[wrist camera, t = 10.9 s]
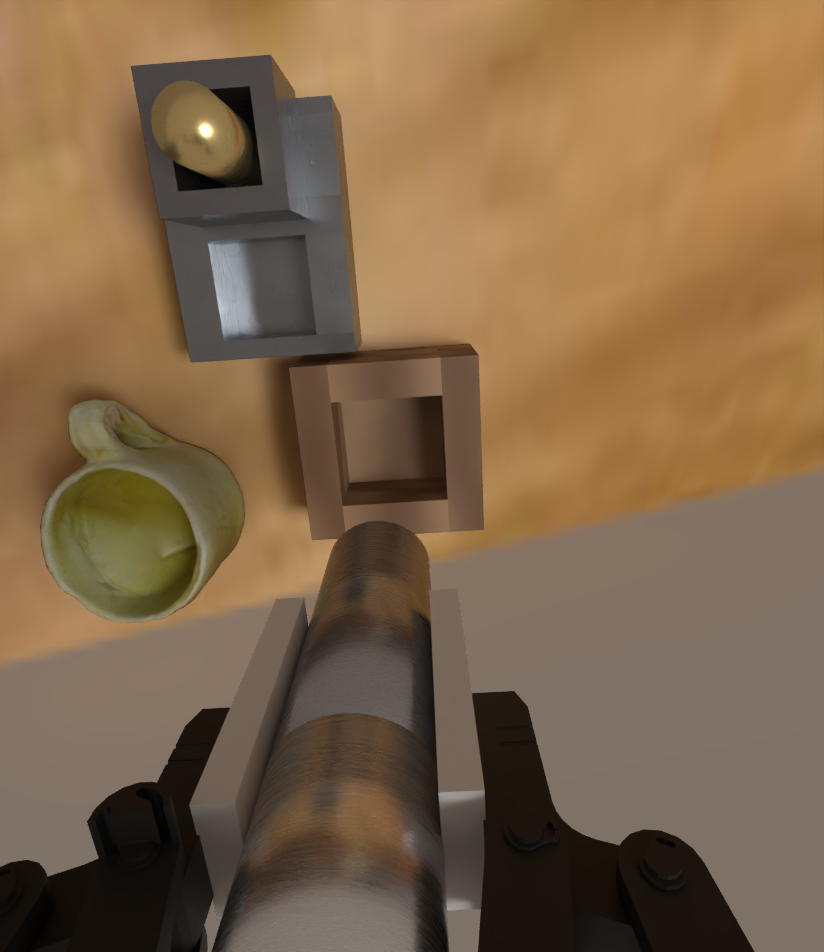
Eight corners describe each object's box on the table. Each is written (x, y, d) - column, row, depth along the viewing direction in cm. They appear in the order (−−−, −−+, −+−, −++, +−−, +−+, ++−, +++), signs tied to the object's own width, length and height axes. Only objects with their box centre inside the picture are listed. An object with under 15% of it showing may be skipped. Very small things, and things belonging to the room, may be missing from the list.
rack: (323, 507, 39) (311, 540, 35) (305, 355, 36) (288, 367, 32) (475, 498, 39) (483, 529, 35) (470, 343, 36) (478, 354, 31)
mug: (280, 587, 39) (175, 647, 30) (153, 571, 43) (22, 621, 33) (276, 399, 38) (163, 401, 28) (144, 398, 41) (4, 398, 31)
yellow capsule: (217, 193, 29) (159, 170, 22) (207, 127, 28) (143, 83, 22) (274, 188, 29) (233, 164, 22) (266, 123, 28) (220, 77, 21)
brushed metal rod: (334, 614, 21) (192, 1221, 7) (323, 524, 20) (132, 1049, 6) (432, 608, 21) (464, 1212, 7) (426, 517, 20) (451, 1036, 6)
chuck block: (214, 352, 36) (152, 378, 28) (174, 122, 32) (88, 69, 24) (361, 342, 36) (345, 365, 27) (340, 109, 32) (313, 51, 24)
